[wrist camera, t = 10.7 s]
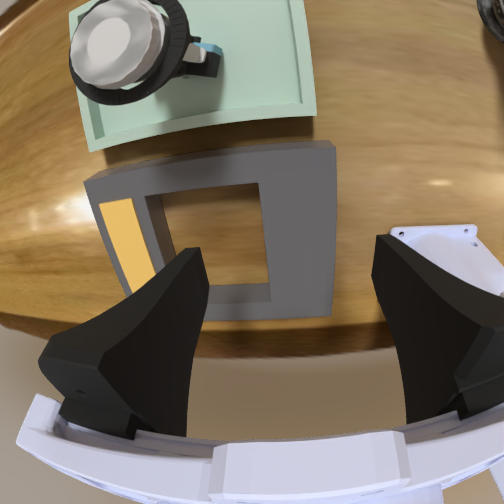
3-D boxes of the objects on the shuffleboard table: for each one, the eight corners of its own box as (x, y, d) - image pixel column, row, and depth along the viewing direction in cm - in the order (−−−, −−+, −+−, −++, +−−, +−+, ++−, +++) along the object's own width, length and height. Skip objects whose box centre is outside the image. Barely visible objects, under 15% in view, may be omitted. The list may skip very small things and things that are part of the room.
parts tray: (291, -38, 11) (293, -49, 9) (312, 112, 17) (316, 115, 16) (83, 15, 13) (68, 12, 11) (103, 146, 19) (89, 152, 18)
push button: (128, 91, 17) (29, 111, 8) (140, 23, 14) (45, -2, 5) (218, 99, 17) (163, 112, 8) (233, 26, 14) (192, -28, 6)
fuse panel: (328, 140, 18) (336, 148, 16) (327, 296, 26) (331, 317, 23) (99, 171, 21) (81, 182, 18) (145, 302, 28) (136, 320, 26)
